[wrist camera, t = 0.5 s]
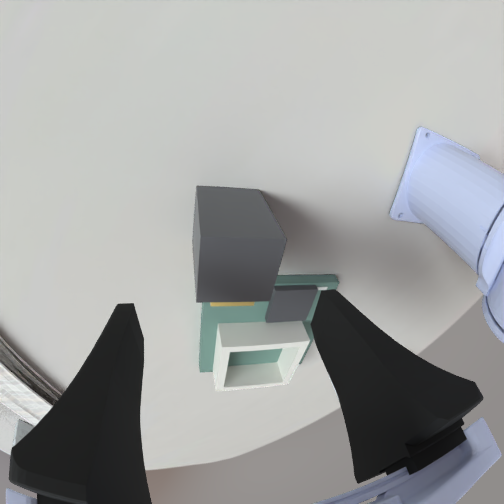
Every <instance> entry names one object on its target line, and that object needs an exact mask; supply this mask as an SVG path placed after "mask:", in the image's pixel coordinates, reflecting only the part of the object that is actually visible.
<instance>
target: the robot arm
mask: <svg viewBox="0 0 504 504" xmlns="http://www.w3.org/2000/svg"><path fill="white" fill-rule="evenodd" d="M426 133H427V136H426ZM399 214H400V215H399ZM390 217H391V218H392V219H393V220H400V221H408V222H416V223H423V224H425V225H426V226H427V227H428V228H430V229H431V230H432V231H433V232H434V233H435V234H436V235H437V236H439V237H440V238H441V239H442V240H443V241H444V242H445V243H446V244H447V245H448V246H449V247H450V248H451V249H453V250H454V251H455V252H456V253H457V254H458V255H459V256H460V257H461V258H462V259H463V260H464V261H465V262H466V263H467V264H468V265H469V266H470V267H471V268H472V269H473V270H474V271H475V272H476V273H477V274H478V275H479V277H478V281H477V283H476V286H477V287H478V288H479V289H480V291H481V292H482V293H483V294H484V295H483V299H482V310H483V314H484V317H485V320H486V322H487V324H488V325H489V327H490V329H491V330H492V332H493V333H494V334H495V336H496V337H497V338H498V339H499V340H500V341H502V342H503V343H504V174H503V173H501V172H500V171H498V170H496V169H495V168H493V167H491V166H489V165H488V164H486V163H484V162H482V161H481V160H480V157H479V155H478V154H476V153H474V152H472V151H471V150H469V149H467V148H465V147H463V146H461V145H459V144H457V143H456V142H454V141H452V140H450V139H448V138H446V137H444V136H441V135H439V134H437V133H435V132H433V131H431V130H429V129H426V128H424V127H419V128H418V129H417V131H416V135H415V139H414V142H413V145H412V149H411V152H410V155H409V159H408V162H407V165H406V168H405V171H404V174H403V177H402V180H401V183H400V186H399V189H398V192H397V194H396V197H395V200H394V203H393V205H392V208H391V211H390ZM310 325H311V328H312V332H313V336H314V339H315V343H316V346H317V348H318V351H319V353H320V355H321V358H322V360H323V362H324V365H325V367H326V369H327V372H328V374H329V376H330V378H331V381H332V383H333V385H334V388H335V390H336V393H337V396H338V398H339V402H340V405H341V409H342V412H343V415H344V419H345V423H346V428H347V432H348V436H349V441H350V446H351V452H352V459H353V466H354V475H355V478H356V481H357V483H361V482H363V481H366V480H368V479H371V478H373V477H375V476H378V475H380V474H382V473H384V472H386V474H387V476H386V477H383V478H381V479H379V480H376V481H374V482H372V483H370V484H367V485H365V486H362V487H360V488H357V489H355V490H352V491H349V492H347V493H344V494H341V495H338V496H335V497H332V498H329V499H326V500H323V501H319V502H316V503H313V504H358V503H361V502H363V501H366V500H368V499H370V498H373V497H375V496H377V495H378V496H377V499H376V500H375V501H373V502H370V503H367V504H455V503H456V502H457V501H458V500H459V499H460V498H461V497H462V496H463V495H464V494H465V493H466V492H467V491H468V490H469V489H470V488H471V487H472V486H473V485H474V484H475V483H476V482H477V480H478V479H479V478H480V477H481V476H482V475H483V474H484V473H485V472H486V471H487V470H488V469H489V468H490V467H491V466H492V465H493V464H494V463H495V462H496V461H497V460H498V459H499V458H500V457H501V452H500V450H499V448H498V446H497V444H496V442H495V440H494V438H493V436H492V434H491V432H490V430H489V428H488V426H487V424H486V422H485V420H484V418H483V417H481V418H480V419H478V420H477V421H476V422H474V423H473V424H472V425H470V426H469V427H468V428H466V429H465V430H462V428H461V426H462V425H464V422H463V420H462V417H464V416H465V415H466V414H467V413H469V412H470V411H471V410H472V409H473V408H474V407H476V406H477V405H478V404H479V403H480V402H481V401H482V400H483V396H482V394H481V392H480V390H479V389H478V387H477V385H476V383H475V382H473V381H470V380H467V379H464V378H462V377H459V376H456V375H454V374H451V373H449V372H447V371H445V370H442V369H440V368H438V367H436V366H434V365H432V364H431V363H429V362H427V361H425V360H423V359H422V358H420V357H418V356H417V355H415V354H414V353H412V352H411V351H409V350H408V349H406V348H405V347H403V346H402V345H400V344H399V343H398V342H396V341H395V340H394V339H392V338H391V337H390V336H388V335H387V334H386V333H385V332H383V331H382V330H381V329H380V328H378V327H377V326H376V325H375V324H374V323H373V322H371V321H370V320H369V319H368V318H367V317H366V316H365V315H363V314H362V313H361V312H360V311H359V310H358V309H357V308H356V307H355V306H353V305H352V304H351V303H350V302H349V301H348V300H347V299H346V298H345V297H343V296H342V295H341V294H340V293H339V292H338V291H336V290H335V289H331V290H322V291H321V293H320V296H319V300H318V303H317V306H316V309H315V312H314V315H313V318H312V321H311V324H310ZM143 367H144V337H143V334H142V331H141V328H140V324H139V321H138V317H137V314H136V310H135V307H134V303H129V304H118V305H117V306H116V307H115V309H114V311H113V313H112V315H111V317H110V319H109V321H108V322H107V324H106V326H105V328H104V330H103V332H102V333H101V335H100V337H99V339H98V340H97V342H96V344H95V346H94V348H93V349H92V351H91V353H90V354H89V356H88V357H87V359H86V361H85V362H84V364H83V365H82V367H81V369H80V370H79V372H78V373H77V375H76V376H75V378H74V379H73V381H72V382H71V383H70V385H69V386H68V388H67V389H66V390H65V392H64V393H63V394H62V396H61V397H60V398H59V399H58V401H57V402H56V403H55V405H54V406H53V407H52V408H51V409H50V410H49V412H48V413H47V414H46V415H45V416H44V417H43V418H42V419H41V420H40V421H39V423H38V424H37V425H36V426H35V427H34V428H33V429H32V430H31V431H30V432H29V433H28V434H27V435H26V436H24V437H23V438H22V439H21V440H20V441H19V442H18V443H17V444H16V445H15V446H13V447H12V450H11V457H10V471H9V480H10V482H11V483H13V484H15V485H17V486H20V487H22V488H24V489H27V490H30V491H32V492H35V493H37V499H35V498H32V497H29V496H27V495H24V494H21V493H19V492H16V491H14V490H11V489H9V488H7V489H6V504H152V502H151V498H150V493H149V489H148V484H147V479H146V473H145V466H144V459H143V451H142V442H141V429H140V405H141V391H142V379H143Z"/></svg>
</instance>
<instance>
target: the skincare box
mask: <svg viewBox="0 0 504 504" xmlns="http://www.w3.org/2000/svg"><path fill="white" fill-rule="evenodd" d="M34 427H35V426H32V425H30V424H28V423H26V422H24V421H21V420H18V422H17V423H16V425H15V432H14V440H13V446H15V445H16V444H17V443H18V442H19V441H20V440H21V439H22V438H23V437H24V436H26V435H27V434H28V433H29V432H30V431H31V430H32V429H33V428H34Z"/></svg>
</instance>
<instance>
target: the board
mask: <svg viewBox="0 0 504 504" xmlns="http://www.w3.org/2000/svg"><path fill="white" fill-rule="evenodd" d="M338 284H339V281H338V279H337V278H336V276H335V275H277V279H276V282H275V286H274V289H273V293H272V297H271V300H270V301H263V302H255V303H254V306H211V305H210V302H202V314H201V332H200V353H199V369H200V372H213V376H214V382H215V389H216V391H228V390H241V389H252V388H262V387H271V386H279V385H286V384H288V383H289V382H290V380H291V378H292V376H293V374H294V372H295V370H296V368H297V366H298V364H301V363H302V361H303V359H304V357H305V355H306V353H307V351H308V349H309V347H310V345H311V343H312V341H313V339H314V336H313V332H312V328H311V325H310V324H311V321H312V318H313V315H314V312H315V309H316V306H317V303H318V300H319V296H320V293H321V291H322V290H331V289H335V290H336V289H337V286H338Z"/></svg>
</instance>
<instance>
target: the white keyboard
mask: <svg viewBox="0 0 504 504" xmlns="http://www.w3.org/2000/svg"><path fill="white" fill-rule="evenodd" d="M0 340H1V341H2V342H3V344H4V345H5V346H6V347H7V348H8V349H9V350H10V351H11V352H12V353H13V354H14V355H15V356H16V357H17V358H18V359H19V360H20V361H21V362H23V363H24V364H25V365H26V366H27V367H28V368H29V369H30V370H31V371H32V372H33V373H34V374H35V375H37V376H38V377H39V378H40V379H41V380H42V381H43V382H45V383H46V384H47V385H48V386H49V387H51V388H52V389H53V390H54V391H55V392H57V393H58V394H59V395H60V396H62V394H61V393H60V392H59V391H58V390H56V389H55V388H54V387H53V386H52V385H51V384H49V383H48V382H47V381H46V380H45V379H44V378H43V377H42V376H40V375H39V374H38V373H37V372H36V371H35V370H34V369H33V368H32V367H31V366H30V365H28V364H27V363H26V362H25V361H24V360H23V359H22V358H21V357H20V356H19V355H18V354H17V353H16V352H15V351H14V350H13V349H12V348H11V347H10V346H9V345H8V344H7V343H6V342H5V341H4V340H3V338H2V337H1V336H0ZM3 344H2V343H1V342H0V361H1V362H2V363H3V364H4V365H6V366H7V367H8V368H9V369H10V370H11V371H13V372H14V373H15V374H16V375H17V376H18V377H20V378H21V379H22V380H23V381H25V382H26V383H27V384H29V385H30V386H32V385H31V384H30V383H29V382H28V381H27V380H26V379H25V378H24V377H23V376H22V375H21V374H20V373H19V372H18V371H17V370H16V368H17V369H19V370H20V371H21V372H22V373H23V374H24V375H25V376H27V377H28V378H29V379H30V380H31V381H33V382H34V383H35V384H36V385H37V386H39V387H40V388H41V389H42V390H44V391H45V392H46V393H47V394H49V395H50V396H51V397H53V398H54V399H56V400H57V401H58V398H57V397H56V396H55V395H54V394H53V393H52V392H51V391H49V390H48V389H47V388H46V387H45V386H44V385H43V384H42V383H41V382H39V381H38V380H37V379H36V378H35V377H34V376H33V375H32V374H31V373H30V372H29V371H28V370H27V369H26V368H24V367H23V366H22V365H21V364H20V363H19V362H18V361H17V360H16V359H15V357H14V356H13V355H12V354H11V353H10V352H9V351H8V350H7V349H6V347H5V346H4V345H3ZM1 362H0V402H1V403H2V404H4V405H5V406H6V407H8V408H9V409H10V410H12V411H13V412H15V413H16V414H17V415H19V416H20V417H22V418H23V419H25V420H26V421H28V422H29V423H31V424H32V425H34V426H36V425H37V424H38V423H39V421H40V420H41V419H42V418H43V417H44V416H45V415H46V414H47V413H48V412H49V410H50V409H51V408H52V407H53V405H51V404H50V403H49V402H47V401H46V400H45V399H43V398H42V397H41V396H39V395H38V394H37V393H36V392H34V391H33V390H32V389H31V388H29V387H28V386H27V385H26V384H25V383H23V382H22V381H21V380H20V379H19V378H18V377H16V376H15V375H14V374H13V373H12V372H11V371H10V370H9V369H8V368H6V367H5V366H4V365H3V364H2V363H1ZM11 363H12V364H13V365H14V366H15V367H16V368H15V367H14V366H13V365H12V364H11ZM32 387H33V386H32ZM33 388H34V387H33Z"/></svg>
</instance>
